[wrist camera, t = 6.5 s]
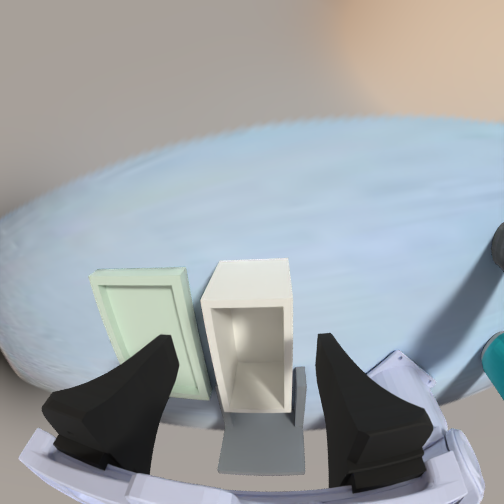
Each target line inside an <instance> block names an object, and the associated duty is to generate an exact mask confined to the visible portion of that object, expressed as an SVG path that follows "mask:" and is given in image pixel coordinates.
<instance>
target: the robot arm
mask: <svg viewBox="0 0 504 504" xmlns="http://www.w3.org/2000/svg"><path fill="white" fill-rule="evenodd" d="M179 365H180V364H179V361H178V357H177V354H176V351H175V347H174V344H173V340H172V337H171V335H164V334H160V335H159V336H157V337H156V338H155V339H153V340H152V341H151V342H150V343H148V344H147V345H146V346H145V347H143V348H142V349H141V350H140V351H138V352H137V353H136V354H134V355H133V356H132V357H130V358H129V359H128V360H126V361H125V362H123V363H122V364H121V365H119V366H118V367H116V368H114V369H113V370H111V371H109V372H108V373H106V374H104V375H102V376H100V377H98V378H96V379H93V380H91V381H89V382H87V383H84V384H81V385H79V386H75V387H72V388H69V389H65V390H60V391H56V392H53V393H52V394H51V395H50V397H49V398H48V399H47V401H46V402H45V404H44V405H43V406H42V412H43V414H44V416H45V418H46V419H47V420H48V422H49V423H50V424H51V425H52V427H53V428H54V429H55V430H56V431H57V433H58V434H59V435H58V436H57V438H56V437H54V436H53V435H52V434H50V433H48V432H46V431H44V430H42V429H40V428H37V430H36V431H35V432H34V434H33V435H32V437H31V439H30V440H29V442H28V443H27V445H26V446H25V448H24V450H23V451H22V453H21V454H20V456H19V460H20V461H21V462H22V463H23V464H24V465H25V466H27V467H28V468H29V469H30V470H31V471H32V472H33V473H35V474H36V475H37V476H38V477H39V478H41V479H42V480H43V481H44V482H46V483H47V484H49V485H50V486H52V487H54V488H55V489H57V490H59V491H60V492H62V493H64V494H66V495H67V496H69V497H71V498H73V499H75V500H77V501H78V502H80V503H82V504H479V503H480V502H481V500H482V499H483V496H484V490H485V482H484V480H483V477H482V474H481V470H480V466H479V463H478V460H477V458H476V455H475V454H474V451H473V449H472V447H471V445H470V443H469V441H468V440H467V438H466V436H465V435H464V434H463V432H462V431H461V430H457V429H453V428H451V429H450V430H449V431H448V427H447V422H446V420H445V418H444V416H443V414H442V411H441V409H440V407H439V405H438V403H437V401H436V399H435V397H434V395H433V393H432V391H431V388H432V387H433V386H434V385H435V384H436V381H435V379H433V378H432V377H431V376H430V375H429V374H428V373H426V372H425V371H424V370H423V369H422V368H420V367H419V366H418V365H417V364H416V363H415V362H413V361H412V360H411V359H410V358H409V357H407V356H406V355H405V354H404V353H403V352H401V351H400V350H396V351H394V352H393V353H392V354H391V355H390V356H389V357H387V358H386V359H385V360H384V361H383V362H381V363H380V364H379V365H378V366H377V367H375V368H374V369H373V370H372V371H370V372H369V373H368V374H367V375H366V374H365V373H364V372H363V371H362V370H361V369H360V368H359V367H358V366H357V365H356V364H355V363H354V362H353V360H352V359H351V358H350V357H349V356H348V355H347V354H346V352H345V351H344V350H343V349H342V347H341V346H340V345H339V343H338V342H337V341H336V339H335V338H334V336H333V335H332V334H331V333H324V334H318V339H317V353H316V364H315V366H316V376H317V384H318V389H319V394H320V398H321V403H322V407H323V412H324V417H325V423H326V432H327V443H328V444H327V445H328V466H329V488H327V489H318V490H307V491H289V492H288V491H285V492H256V491H236V490H224V489H220V488H216V487H210V486H205V485H198V484H191V483H185V482H180V481H174V480H170V479H165V478H161V477H156V476H152V475H150V467H151V460H152V453H153V448H154V443H155V438H156V434H157V430H158V426H159V422H160V419H161V416H162V413H163V411H164V408H165V406H166V403H167V401H168V399H169V396H170V394H171V391H172V389H173V386H174V384H175V381H176V378H177V374H178V370H179Z"/></svg>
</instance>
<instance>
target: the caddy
mask: <svg viewBox="0 0 504 504" xmlns="http://www.w3.org/2000/svg"><path fill="white" fill-rule="evenodd" d="M200 301H201V307H202V312H203V318H204V323H205V328H206V333H207V338H208V343H209V348H210V353H211V357H212V362H213V367H214V371H215V376H216V380H217V384H218V389H219V393H220V397H221V401H222V405H223V409H224V412H236V413H289V412H291V401H292V363H293V295H292V286H291V278H290V270H289V262H288V258H276V259H252V260H227V261H219V263H218V265H217V267H216V269H215V271H214V273H213V275H212V277H211V279H210V281H209V283H208V285H207V287H206V290H205V292H204V294H203V296H202V298H201V300H200Z"/></svg>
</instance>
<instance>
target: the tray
mask: <svg viewBox="0 0 504 504" xmlns="http://www.w3.org/2000/svg"><path fill="white" fill-rule="evenodd" d="M88 277H89V280H90V284H91V287H92V290H93V293H94V297H95V300H96V303H97V306H98V309H99V312H100V314H101V317H102V320H103V323H104V325H105V328H106V331H107V333H108V336H109V338H110V341H111V343H112V346H113V348H114V351H115V353H116V356H117V358H118V360H119V362H120V365H121V364H122V363H123V362H125V361H126V360H128V359H129V358H130V357H132V356H133V355H134V354H136V353H137V352H138V351H140V350H141V349H142V348H143V347H145V346H146V345H147V344H148V343H150V342H151V341H152V340H153V339H155V338H156V337H157V336H159V335H160V334H164V335H171V337H172V340H173V344H174V347H175V351H176V354H177V357H178V361H179V364H180V365H179V370H178V374H177V378H176V381H175V384H174V386H173V389H172V391H171V394H170V396H169V397H176V398H185V399H196V400H208V401H210V397H211V393H212V387H211V383H210V379H209V375H208V371H207V367H206V363H205V359H204V354H203V350H202V346H201V341H200V337H199V332H198V327H197V323H196V318H195V313H194V308H193V303H192V298H191V292H190V287H189V281H188V276H187V270H186V267H171V268H134V269H97V270H96V271H95V272H93V273H92V274H91V275H89V276H88Z"/></svg>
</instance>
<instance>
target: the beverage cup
mask: <svg viewBox="0 0 504 504" xmlns="http://www.w3.org/2000/svg"><path fill="white" fill-rule="evenodd" d="M491 250H492V258H493V261H494V262H495V263H496V264H497V265H498V266H499V267H500V268H501V269H502V270H503V271H504V223H502V224H501V225H500V226H499V227H498V229H497V231H496V233H495V235H494V238H493V241H492V248H491Z"/></svg>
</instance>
